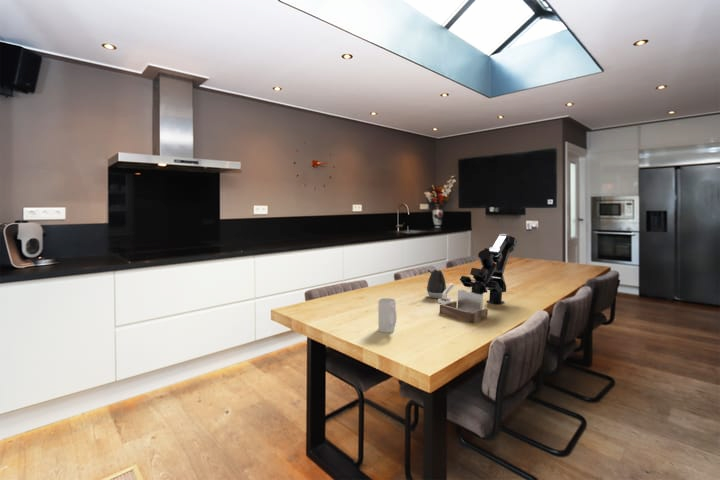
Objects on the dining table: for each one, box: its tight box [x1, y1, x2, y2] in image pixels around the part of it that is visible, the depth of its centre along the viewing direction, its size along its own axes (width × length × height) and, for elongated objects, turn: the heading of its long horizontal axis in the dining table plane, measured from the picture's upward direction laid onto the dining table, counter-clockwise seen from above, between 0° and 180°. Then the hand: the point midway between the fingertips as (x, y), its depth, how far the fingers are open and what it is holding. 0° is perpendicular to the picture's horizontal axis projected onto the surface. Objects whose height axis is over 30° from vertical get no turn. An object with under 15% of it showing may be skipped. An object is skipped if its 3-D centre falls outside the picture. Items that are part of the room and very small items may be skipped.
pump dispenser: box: [426, 268, 447, 300], centre depth 196 cm, size 10×10×15 cm
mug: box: [377, 297, 398, 334], centre depth 144 cm, size 10×7×12 cm, turn 27°
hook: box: [437, 282, 455, 305], centre depth 186 cm, size 8×12×7 cm
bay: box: [439, 300, 489, 324], centre depth 165 cm, size 11×17×4 cm, turn 39°
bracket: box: [457, 289, 484, 313], centre depth 166 cm, size 8×12×10 cm
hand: (471, 298), depth 168 cm, fingers closed
